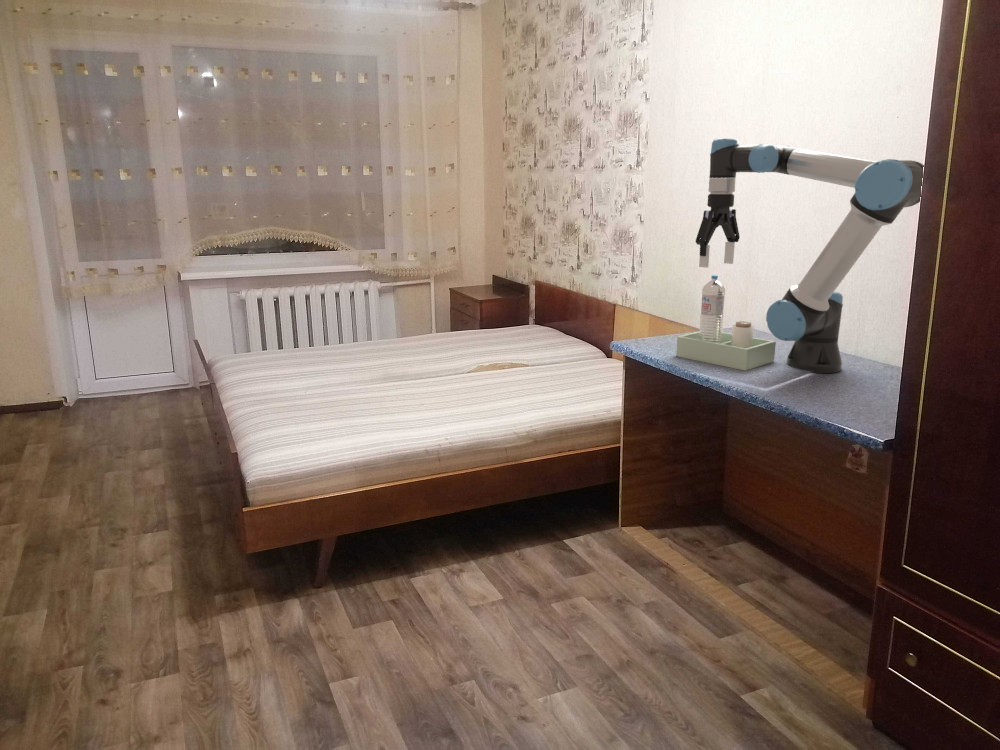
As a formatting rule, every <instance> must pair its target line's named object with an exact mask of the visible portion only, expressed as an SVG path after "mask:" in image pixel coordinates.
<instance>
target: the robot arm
mask: <svg viewBox="0 0 1000 750" xmlns="http://www.w3.org/2000/svg"><path fill="white" fill-rule="evenodd" d="M709 157H710V160H709V161H710V162H709V163H710V164H709V176H708V177H709V179H708V193H709V194H708V195H707V207H709V208H710V210H703V216H702V219H701V223H700V226H699V228H698V232H697V234H696V235H697V236H696V238H695V243H696V245H699V259H698V260H699V262H698V263H699V265H698V267H699V268H709V262H710V251H711V250H710V248H711V245H709V243H710V242H711V239H712V238H713V234H714V233H715V231H716V229H717V228H719V226H720V227H721V228H722V231H723V233H724V236H725V239H726V240H727V241H725V246H724V259H723V264H730V265H733V264H734V258H735V246H736V245H735V243H739V240H740V231H739V226H738V220H737V210H736V208H734V209H732V207H734V203H735V195H734V192H735V191H736V179H737V177H736V176H737V173H757V174H758V173H759V174H760V173H777V174H783V175H788V176H793V177H799V178H804V179H809V180H814V181H818V182H819V181H820V182H825V183H829V184H834V185H839V186H844V187H849V188H853V189H854V194H853V195H852V197H851V198H850V200H849V205H850V210H849V212H848V213H847V215H846V216H845V218H844V219H843V221H842V222H841V223H840V225H839V227H838V228H837V229H836V231H835V232H834V233H833V235H832V237H830V239H829V241H828V242H827V244H826V245H825V247H824V248H823V249H822V251H821V252H820V253H819V255H818V257H817V258H816V259H815V261H814V262H813V264H812V266H810V268H809V269H808V271H807V272H806V274H805V275H804V277H803V278H802V280H801V281H800V282H799V283H795V284H792V285H791V286H790V287H789V288H788V290H787V291H786V293H785V294H784V295H783V296H782V299H778V300H776V301H775V302H773V303H772V304H770V306H769V307H768V309H767V312H766V315H765V318H766V319H765V320H766V324H767V328H768V330H769V332H770V333H771V334H772V336H773V337H775V338H777V339H778V340H780V341H784V342H790V341H791V342H793V345H792V346H791V349H790V350H789V353H788V354H787V355H788V356H787V358H786V365H788V366H790V367H792V368H794V369H799V370H803V371H811V372H810V373H813V374H832V373H833V374H834V373H839V372H840V371H842V365H843V360H842V356H841V353H840V347H839V336H840V335H839V334H840V327H841V319H842V318H841V317H842V311H843V306H844V304H843V300H844V299H843V298H844V297H843V295H842V294H841V292H838V291H837V292H836V290H837V288H838V287H839V286H840V284H841V283H842V281H844V278H845V277H846V276H847V275H848V273H849V272H850V271H851V270H852V267H853V266H854V265H855V263H856V262H857V261H858V260H859V258H860V257H861V255H862V254H863V253H864V251H865V250H866V248H867V247H868V246H869V245H870V244H871V242H872V240H873V239H874V238H875V237H876V235H877V233H878V232H879V231H880V229H881V228H882V227H883V226H887V225H891V224H893V223H894V221H895V220H896V219H897V217H898V216H899V214H900V213H901V212H902V210H903V209H904V208H909V207H913V206H915V205H917V204H919V203H921V202H920V197H921V186H922V178H923V167H924V166H925V165H924V164H923V163H922V162H919V161H916V160H907V159H906V160H903V159H902V160H898V159H891V158H890V159H888V158H887V159H882V160H878V161H874V160H868V159H863V158H858V157H856V158H855V157H851V156H843V155H838V154H832V153H826V152H821V151H814V150H809V149H802V148H797V147H794V146H791V145H786V144H785V145H784V144H782V145H773V144H767V143H759V144H747V145H746V144H744V145H742V144H741V145H739V140H738V139H737V138H716V139H714V140H713V141H712V142H711V148H710V154H709Z"/></svg>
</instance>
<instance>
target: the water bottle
mask: <svg viewBox="0 0 1000 750" xmlns="http://www.w3.org/2000/svg"><path fill="white" fill-rule="evenodd" d="M718 278H719V276H718V275H715V274H712V275H711V278H710V279H711V280H709V281H708V282H707V283H706V284H705V285H704V286H703V287H702V289H701V308H700V314H699V315H700V319H699V331H700V332H699V331H698V332H699V340H703V341H708V342H714V343H719V344H721V341H722V332H723V328H724V327H723V326H724V309H725V308H724V307H725V295H726V288H725V287H724V285H723V284H722V283H721V282H720V281H719V280H718Z"/></svg>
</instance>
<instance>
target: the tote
mask: <svg viewBox="0 0 1000 750" xmlns="http://www.w3.org/2000/svg"><path fill="white" fill-rule="evenodd" d="M699 332H700V330H699V331H695V332H690V333H687V334H682V335H679V336H677V337H676V338H677V339H676V353H675V354H676V357H679V358H684V359H687V360H692V361H693V360H694V361H698V362H702V363H703V362H704V363H707V364H712V365H716V366H722V367H725V368H726V367H727V368H730V369H736V370H740V371H741V370H742V371H745V372H746V371H749V370H751V369H755V368H758V367H760V366H764V365H767V364H770V363H774V362H775V354H776V346H777V345H776V344H777V343H776V341H775V340H769V339H765V338H764V339H763V338H757V337H753V343H752V347H749V348H741V347H735V346H731V342H732V333H730V332H723V331H722V341H721V344H719V343H714V342H708V341H703V340H699Z"/></svg>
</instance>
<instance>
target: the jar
mask: <svg viewBox="0 0 1000 750" xmlns="http://www.w3.org/2000/svg"><path fill="white" fill-rule="evenodd" d="M754 328H755V326H754V325H752V322H750V321H744V320H743V321H741V320H740V321H735V324H733V325H732V328H731V329H732V333H731V334H732V342H731V346H735V347H741V348H749V347H752V343H753V338H754V332H755V331H754V330H755V329H754Z"/></svg>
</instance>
